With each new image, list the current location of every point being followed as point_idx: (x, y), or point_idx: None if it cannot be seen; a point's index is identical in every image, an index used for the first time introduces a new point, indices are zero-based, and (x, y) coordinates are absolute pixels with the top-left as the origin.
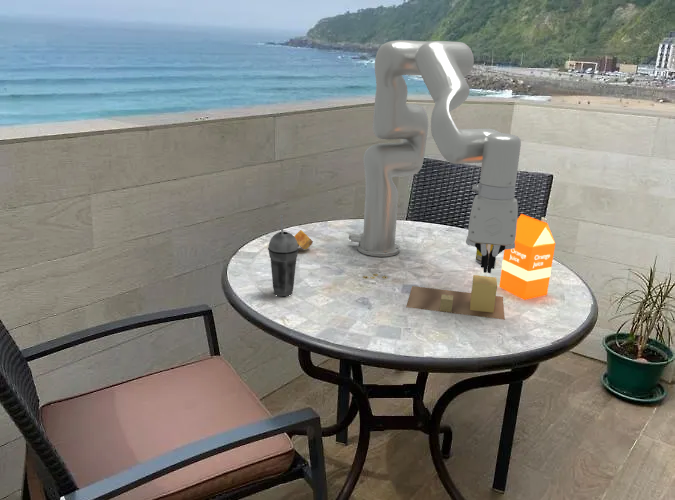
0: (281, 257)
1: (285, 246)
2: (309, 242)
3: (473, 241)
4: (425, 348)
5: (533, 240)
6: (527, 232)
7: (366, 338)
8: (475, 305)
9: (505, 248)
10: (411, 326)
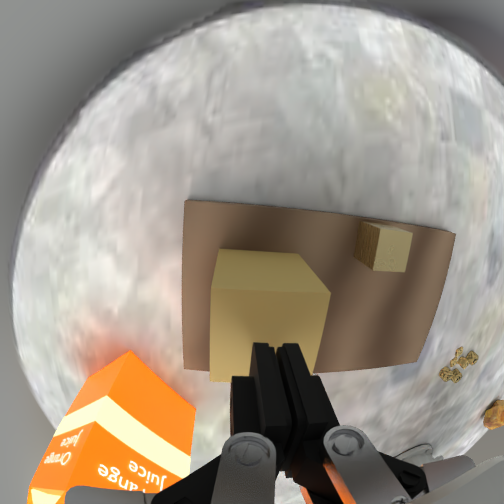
0: None
1: None
2: (491, 418)
3: (501, 457)
4: (403, 45)
5: None
6: None
7: (487, 100)
8: (286, 258)
9: (151, 501)
10: (439, 148)
